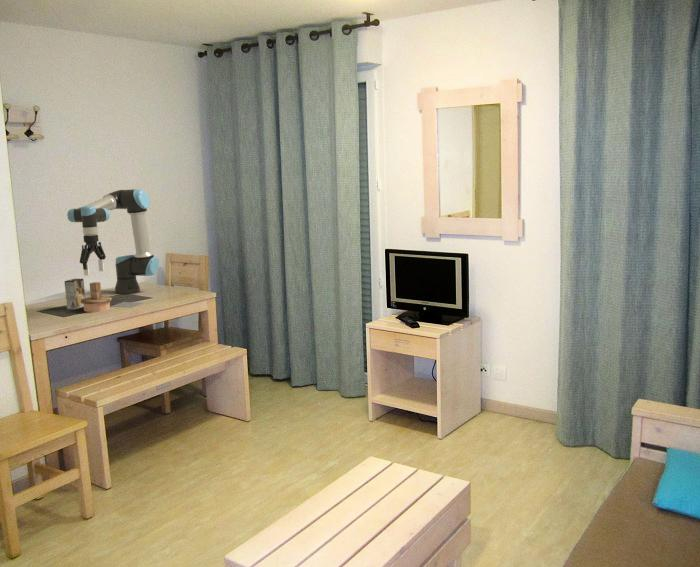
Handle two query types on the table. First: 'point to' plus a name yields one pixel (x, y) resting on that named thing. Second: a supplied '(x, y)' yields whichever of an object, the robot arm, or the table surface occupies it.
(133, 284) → the robot arm
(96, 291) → the lid
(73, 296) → the coffee box
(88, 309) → the bowl
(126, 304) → the mat
